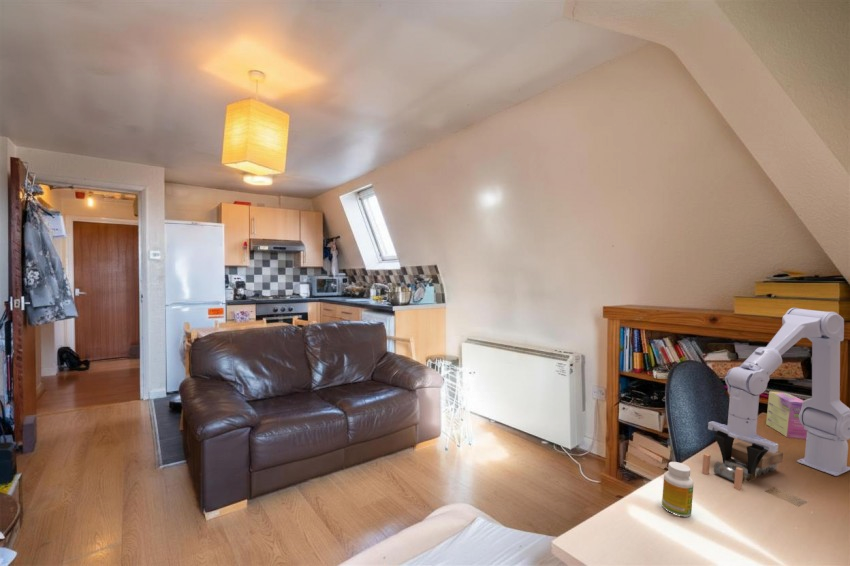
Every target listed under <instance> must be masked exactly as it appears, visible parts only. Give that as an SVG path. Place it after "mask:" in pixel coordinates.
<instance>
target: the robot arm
mask: <svg viewBox="0 0 850 566" xmlns="http://www.w3.org/2000/svg"><path fill="white" fill-rule="evenodd" d="M781 321H782V322H781V327H780V328H779V329H778V331H777V332H776V333H775V335H773V337H772V339H771V340H770V341H769V342H768V343H767V345H766V346H760V347H757V348H756V349H754V351H753V352H752V353H751V354H750V355H749V356H748V357H747V358H746V359H745V360H744V361H743V362H742V363H741V364H740V365H739V366H735V367H732V368H730V369H728V371H727V373H726V376H725V377H724V381H725V382H724V383H725V384H726V386H727V393H728V394H729V400H728V402H729V405H728V415H727V416H728V418H727V424H724V423H720V422H717V421H713V420H712V421H709V422H708V423H707V425H708V426H707V429H708V430H710V431H714V432H715V431H716V434H714V439H715V442H716V443H717V445H718V447H719V451H720V453H721V457H722V463H724V462H725V460H726V459H727V458H728V457H729V458H732V457H731V453H732V446H733V444H734V441H735V440H740V441H744V442H747V443H750V444H752V446H748V447H747V453H748V466H747V469H748V474H753V473H755V471H756V468H757V466H758V464H759V462H760V460H761V459H762V457H763V456H764V455H765V454H766V453H767V452H768V450H769V452H772V453H776V452H778V451H779V443H776V442H774V441H772V440H769V439H767V438H766V437H762V436H761V435H758V434H757V428H758V416H759V403H760V395H762V394H763V393H764V392H765V391H766V390H767V388H768V383H769V381H770V379H771V377H770V376H771V375H773V373H774V372H775V371H776V370H777V369H778V368H779V367H780V366H781V365H782V363H783V358H782V356H783V355H784V354H785V353H786V352H787V351H788V350H790V348H791V349H792V347H794V345H795V344H797V343H798V342H799V341H800V340H802V339H808V341H810V342H811V343H812V344H811V345H812V346H811V353H812V354H811V355H812V356H811V362H812V363H811V398H807V399H805V400H803V402H802V408H801V411H800V413H799V419H800V422H801V424H802V425H803V426H804V429H805V430H807V437H806V439H805V440H806V441H805V448H804V449H805V450H804V457H803V458H800V459H797V463H798V464H802V465H804V466H807V467H810V468H813V469H815V470H818V471H821V472H823V473H826V474H829V475H832V476H835V477H838V476H840V475H842V474H845V473H846V472H849V471H850V466H849V465H848V466H847V464H848V455H849V442H848V441H849V440H850V407H849V406H847V405H846V404H845V403H843V402H842V400H840V398H841V390H840V389H841V385H840V384H841V342H843V341H844V339H845V337H844V336H845V318H843V316H841V315H840V314H839V313H837V312H835V311H823V310H814V309H806V308H799V307H791V308H789V309H788V310H787V311H786V312H785V314H784V315H783V316H782V319H781Z"/></svg>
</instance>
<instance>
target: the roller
mask: <svg viewBox="0 0 850 566" xmlns="http://www.w3.org/2000/svg"><path fill="white" fill-rule="evenodd" d="M724 464H726V465H728V466H731V467H733V468H735V469H736V468H737V467H739V468H742V469H743V474H744V475H746V476H747V478H750V477H751V476H752V474H748V469H747V466H748V465H747V464H744V463H742V462H739V461H737V460H734V458H733V457H731V458H729V457H728V458H727V459H726V460H725V462H724Z"/></svg>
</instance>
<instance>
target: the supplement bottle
mask: <svg viewBox="0 0 850 566" xmlns="http://www.w3.org/2000/svg"><path fill="white" fill-rule="evenodd" d="M667 469H668V470H667V471H666V472H665V473H664V475H663V483H662V485H663V486H662V497H661V498H662V499H661V506H662V505H663V506H662V507H664V508H665V509H667V510H668V511H670V512H672V513H675V514H677V515H680V516H684V517H683V518H688V516H689V517H691V515H692V512H693V511H692V508H693V496H694V481H693V479H692V478H691V468H690V466H688V465H687V464H685V463H681V462H677V461H670V462H668V466H667ZM664 508H663V509H664ZM665 509H664V510H665ZM668 511H667V512H668ZM680 516H679V517H680Z"/></svg>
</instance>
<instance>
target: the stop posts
mask: <svg viewBox="0 0 850 566" xmlns="http://www.w3.org/2000/svg"><path fill="white" fill-rule="evenodd" d="M711 456H712V455H711V454H708V453H703V456H702V471H701V473H702V474H704V475H710V469H711V468H710V467H711ZM742 478H743V469H742V468H739V467H737V468H736V470H735V482H733V483H734V485H733V488H734V489H736V490H738V491H740V490H742V489H743V487H742V486H743V481H742Z"/></svg>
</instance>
